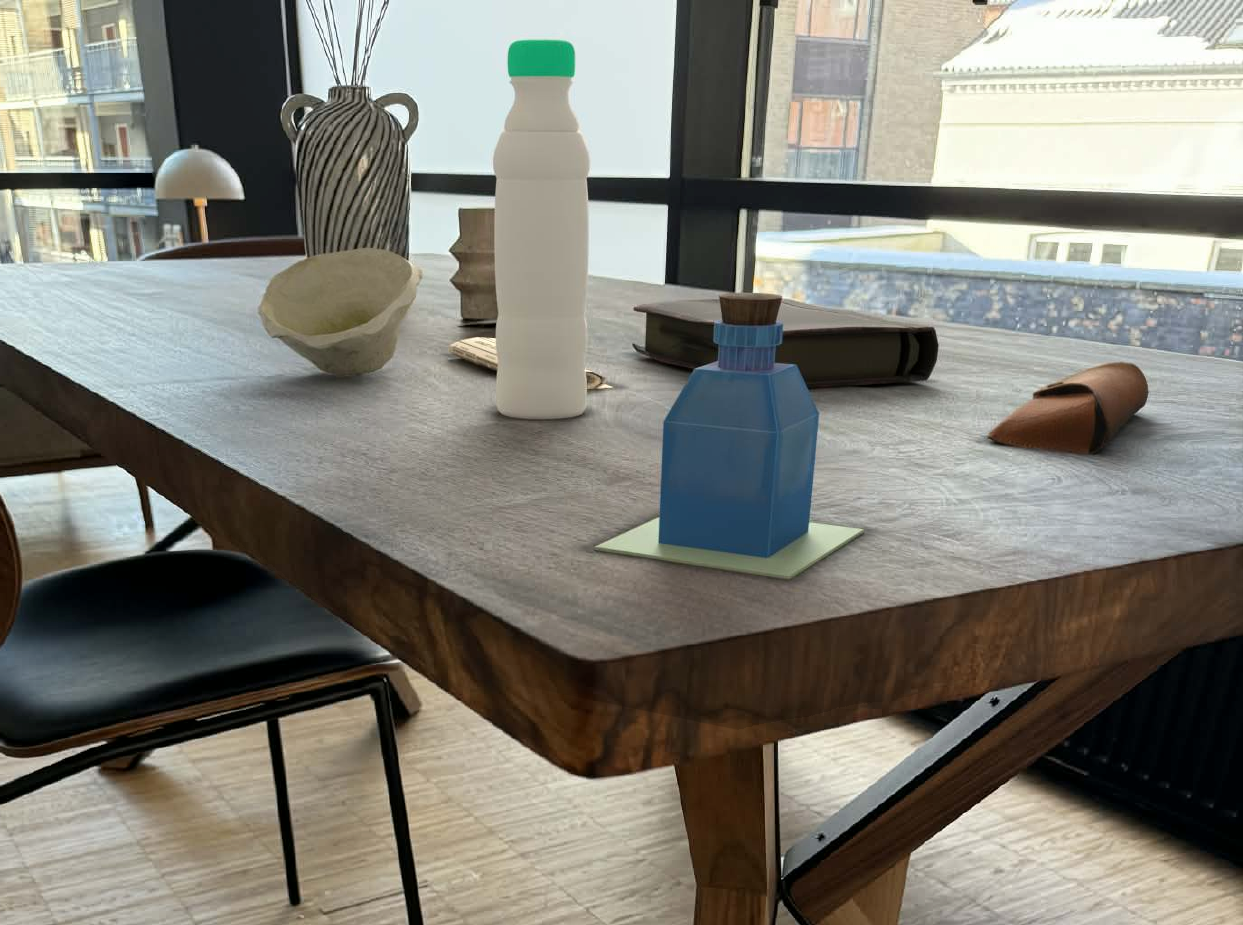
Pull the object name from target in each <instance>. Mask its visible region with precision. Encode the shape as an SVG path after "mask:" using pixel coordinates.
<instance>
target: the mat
mask: <svg viewBox="0 0 1243 925" xmlns="http://www.w3.org/2000/svg"><path fill="white" fill-rule="evenodd" d="M864 532H865V530H864V529H863V528H857V527H848V526H842V525H833V524H824V523H819V522H812V521H811V522H810V521H809V530H808V532H807V533H806V534H804V535H803V536H801V537H800V538H798V539H797V540H795V541H793V542H792V543H790V544H789V545H787V546H786V547H784V548H783V549H781V550H780V551H778V552H776V553H775V554H773V555H772V556H770V557H769V558H765V557H757V556H750V555H743V554H735V553H728V552H721V551H714V550H706V549H699V548H692V547H684V546H677V545H670V544H662V543H658V540H659V516H658V517H656V518H654V519H652V520H649V521H647V522H645V523H643V524H640V525H639V526H636V527H634V528H632V529H630V530H628V531H625V532H623V533H622V534H619V535H617V536H615V537H613V538H610V539H608V540H606V541H604V542H602V543H599V544H597V545H595V546H594V550H595V551H601V552H602V551H603V552H607V553H614V554H621V555H625V556H626V555H628V556H634V557H640V558H647V559H655V560H661V561H666V562H672V563H673V562H674V563H680V564H686V565H694V566H698V567H699V566H700V567H706V568H712V569H720V570H726V571H732V572H738V573H744V574H752V575H758V576H765V577H772V578H778V579H784V580H791V579H792V578H794V577H796V576H797V575H799V574H800V573H802V572H804V571H805V570H807V569H808V568H810V567H811V566H813V565H814V564H816V563H818V562H819V561H821V560H822V559H824V558H826V557H827V556H829V555H830V554H832V553H834V552H835V551H836V550H838V549H840V548H841V547H843V546H844V545H846V544H848V543H849V542H851V541H852V540H854V539H855V538H857V537H859V536H860V535H862V534H863V533H864Z"/></svg>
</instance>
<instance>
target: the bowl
mask: <svg viewBox="0 0 1243 925" xmlns="http://www.w3.org/2000/svg"><path fill="white" fill-rule="evenodd" d="M423 276H424V274H423V270H422V269H421V268H419V267H416V266H415V265H414V264H412V263H411V262H410V261H409V260H407V259H406V258H404V257H403V256H401V255H399V254H397V253H395V252H392V251H390V250H387V249H380V248H375V247H359V248H355V249H348V250H342V251H333V252H328V253H318V254H316V255H312V256H307V257H306V258H305V259H301V260H299V261H297V262H295V263H293V264H292V265H290V266H288V267H287V268H286V269H284V270H282V271H280V272H278V273H276V274H274V276H272V278H271V279H270V280H269V283H268V285H267V286H266V288H265V292H264V293H263V295H262V300H261V302H260V304H259V306H258V307H257V313H258V315H259V317H260V319H261V323H262V326H263V327H264V330H265V331H266V333H267V334H268V336H269V337H270V338H272V339H276V338H277V339H278V340H280V341H281V342H282V343H283V344H285V345H286V346H287V347H288V348H290V350H292V351H294V352H295V353H296V354H297V355H299V356H301V358H304V359H306V360H307V361H308V362H310V363H311V364H313V365H314V366H315V367H317V368H318V369H319V370H320V371H322V372H324V373H327V374H330V375H337V376H350V377H351V376H354V377H355V376H360V375H363V374H369V373H374V372H376V371H378V370H381V369H382V368H383V367H384V366H385V365H386V364H387V363H388V362H389V361H391V360H392V358H393V357H394V355H395V351H396V349H397V343H398V339H399V332H400V327H401V325H402V322H403V320H404V318H405V317H406V314H407V312H408V311H409V309H410V308H411V306H412V305H413V304H414V302H415V300H416V298H417V293H418V286H419V284H420V283H421V281H422V279H423Z"/></svg>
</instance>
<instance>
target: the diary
mask: <svg viewBox="0 0 1243 925" xmlns="http://www.w3.org/2000/svg"><path fill="white" fill-rule="evenodd" d="M632 310H633V311H634V312H636V313H637V312H638V313H642V314H643V313H644V314H645V337H644V338H645V341H644V346H641V345H639V344H636V343H634V342H633V343H632V344H631V345H632V346H631V347H633V349H634V351H636V352H637V353H639V354H641V355H644V356H645V357H649V358H651V359H653V360H656V361H658V362H661V363H665V364H670V365H674V366H679V367H684V368H688V369H692V370H694V369H695V368H698V367H701V366H705V365H708V364H711V363H714V362H717V361H718V352H719V344H716V343H714V341H713V340H714V322H715V321H717V320H721V319H722V315H721V307H720V300H719V298H708V299H705V298H703V299H684V300H683V299H682V300H681V299H680V300H670V301H669V300H668V301H660V302H651V303H642V304H639V305H636V306H634V307H633V308H632ZM776 321H781V322H783V335H782V343H781V344H780V345H776V351H775V363H782V364H795V365H797V367H798V369H799V371H800V374H801V376H802V378H803V380H804V382H805V384H806V386H807V389H816V388H832V387H847V386H863V385H865V386H867V385H878V384H879V385H880V384H895V383H906V382H910V383H911V382H923V381H924V382H926V381H928V380H929V378H930V377H931V375H932V372H933V370H934V368H935V366H936V364H937V361H938V353H939V347H940V345H939V340H938V335H937V331H936V329H935V327H934V326H930V325H926V324H925V325H924V324H918V323H910V322H901V321H895V320H888V319H884V318H880V317H877V316H872V315H869V314H868V315H867V314H864V313H861V312H857V311H854V310H853V311H852V310H844V309H838V308H837V309H836V308H829V307H821V306H816V305H812V304H809V303H804V302H803V301H797V300H794V299H790V298H782V301H781V304H780V308H779V312H778V315H777V319H776Z"/></svg>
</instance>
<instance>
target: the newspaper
mask: <svg viewBox="0 0 1243 925" xmlns="http://www.w3.org/2000/svg"><path fill="white" fill-rule="evenodd" d="M448 352H449V353H450V354H451V355H453V356H455V357H457V358H460V359H462V360H465V361H468V362H470V363H472V364H475V365H477V366H480V367H483V368H485V369H487V370H491V371H493V372H495V373H497V370H498V358H497V351H496V337H495V338H493V337H480V336H476V337H471V338H465V339H461V340H458V341H456V342H453V343H451V344H449V346H448ZM585 371H586V383H587V390H593V389H599V390H603V389H615V387H614V386H611V385H609V384H606V379H607V377H606V376H603V375H601V374H599V373H596V372H594V371H592V370H589V369H586V368H585Z"/></svg>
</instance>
